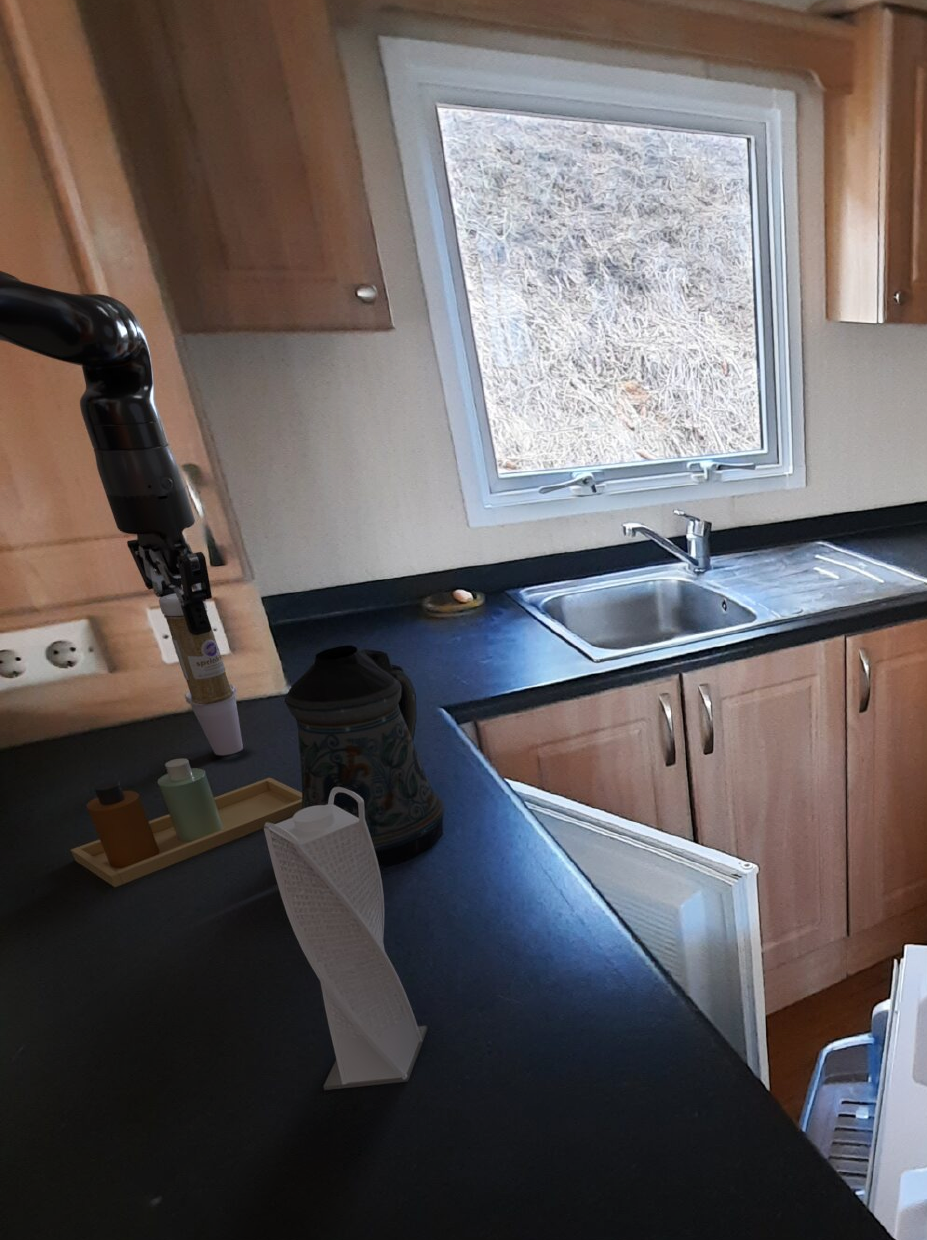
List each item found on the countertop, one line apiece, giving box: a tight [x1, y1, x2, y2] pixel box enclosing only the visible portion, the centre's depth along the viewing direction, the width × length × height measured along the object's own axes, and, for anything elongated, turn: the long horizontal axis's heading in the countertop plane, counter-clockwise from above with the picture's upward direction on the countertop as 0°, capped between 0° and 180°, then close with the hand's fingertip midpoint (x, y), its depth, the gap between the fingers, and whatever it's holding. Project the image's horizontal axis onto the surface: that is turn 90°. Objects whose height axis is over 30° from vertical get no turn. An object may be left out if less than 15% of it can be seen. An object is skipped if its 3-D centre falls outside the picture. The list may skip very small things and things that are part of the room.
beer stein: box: [284, 645, 445, 869], centre depth 121 cm, size 16×19×25 cm
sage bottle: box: [157, 757, 224, 842], centre depth 123 cm, size 5×5×10 cm
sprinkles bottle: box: [158, 593, 233, 704], centre depth 121 cm, size 5×5×13 cm
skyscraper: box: [263, 787, 428, 1091], centre depth 84 cm, size 8×8×28 cm
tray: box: [70, 777, 302, 888], centre depth 125 cm, size 24×11×2 cm, turn 147°
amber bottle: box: [86, 780, 159, 868], centre depth 117 cm, size 5×5×10 cm
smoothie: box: [184, 683, 244, 756], centre depth 145 cm, size 6×6×14 cm
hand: (190, 628), depth 120 cm, fingers closed on sprinkles bottle, 4 cm apart
